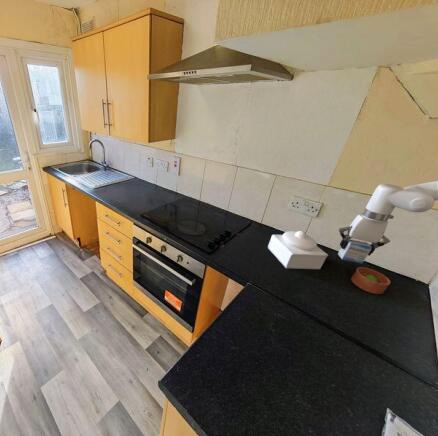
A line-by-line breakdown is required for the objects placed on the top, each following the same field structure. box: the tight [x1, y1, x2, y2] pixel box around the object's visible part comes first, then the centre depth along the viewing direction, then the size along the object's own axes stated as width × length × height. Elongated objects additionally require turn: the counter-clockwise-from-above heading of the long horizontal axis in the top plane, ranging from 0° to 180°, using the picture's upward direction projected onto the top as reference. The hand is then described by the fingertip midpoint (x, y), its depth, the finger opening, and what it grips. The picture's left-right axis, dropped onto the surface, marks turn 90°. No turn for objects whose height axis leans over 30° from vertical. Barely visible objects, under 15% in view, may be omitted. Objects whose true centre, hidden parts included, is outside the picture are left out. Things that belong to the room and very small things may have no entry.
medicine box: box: [337, 239, 372, 264], centre depth 98 cm, size 8×4×9 cm, turn 71°
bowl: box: [350, 266, 391, 295], centre depth 100 cm, size 11×11×6 cm
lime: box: [364, 275, 378, 283], centre depth 100 cm, size 5×5×5 cm
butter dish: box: [267, 230, 329, 270], centre depth 114 cm, size 18×18×16 cm
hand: (354, 250), depth 98 cm, fingers closed on medicine box, 8 cm apart
